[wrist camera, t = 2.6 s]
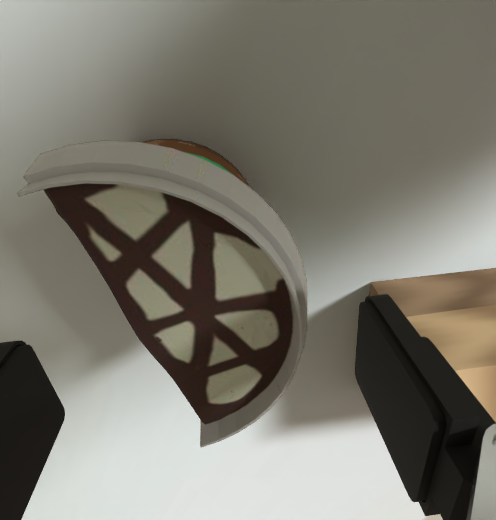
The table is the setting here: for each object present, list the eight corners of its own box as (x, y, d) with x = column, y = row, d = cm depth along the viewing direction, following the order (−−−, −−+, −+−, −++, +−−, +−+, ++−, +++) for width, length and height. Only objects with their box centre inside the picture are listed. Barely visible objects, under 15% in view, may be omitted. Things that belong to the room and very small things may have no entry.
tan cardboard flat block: (518, 261, 23) (570, 297, 20) (482, 369, 28) (519, 412, 25) (368, 279, 23) (394, 317, 20) (359, 383, 28) (378, 429, 25)
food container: (302, 276, 22) (354, 414, 14) (212, 305, 23) (206, 455, 14) (233, 67, 16) (245, 74, 8) (114, 116, 17) (1, 173, 8)
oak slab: (573, 293, 20) (649, 344, 16) (524, 409, 25) (574, 467, 21) (395, 318, 20) (432, 373, 16) (383, 428, 25) (409, 489, 21)
